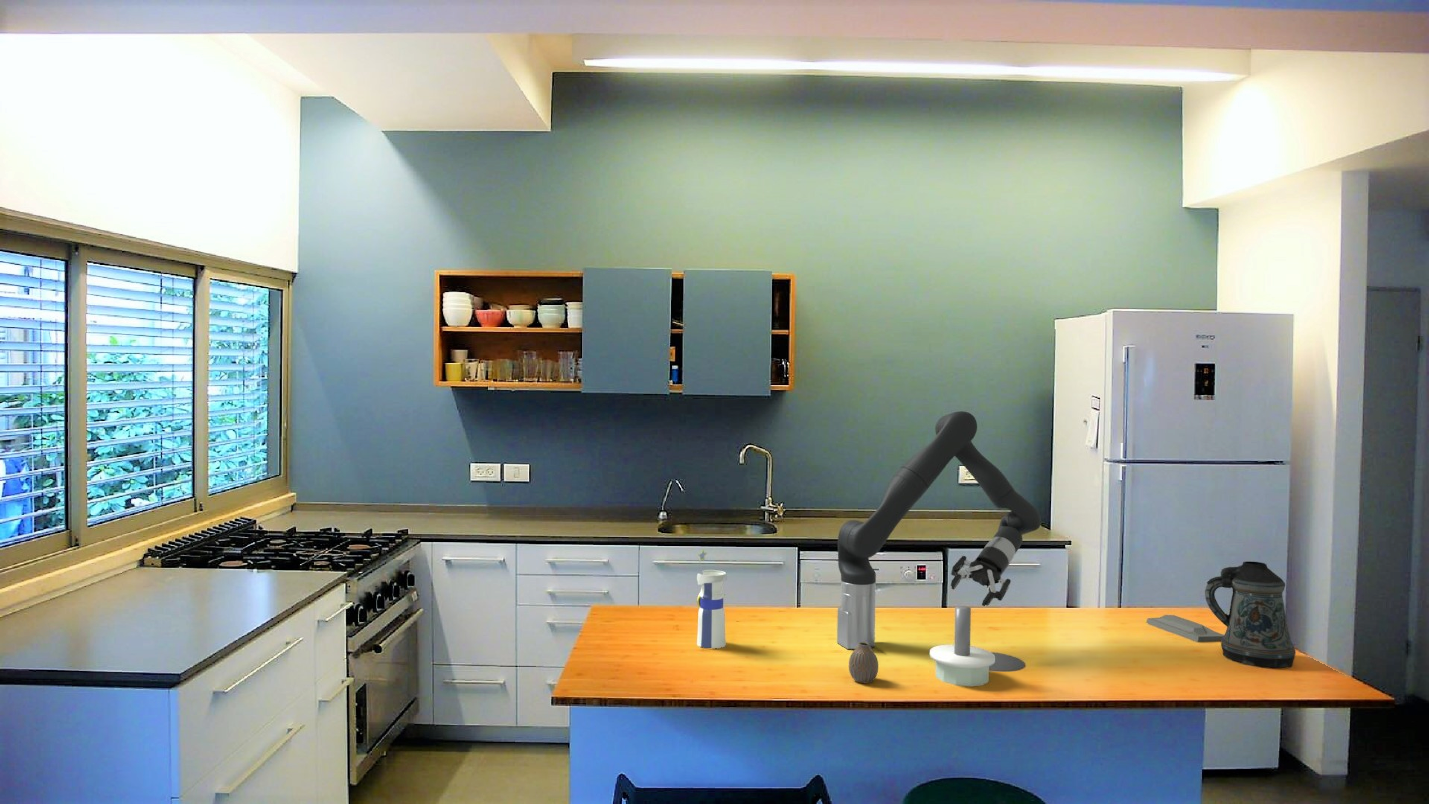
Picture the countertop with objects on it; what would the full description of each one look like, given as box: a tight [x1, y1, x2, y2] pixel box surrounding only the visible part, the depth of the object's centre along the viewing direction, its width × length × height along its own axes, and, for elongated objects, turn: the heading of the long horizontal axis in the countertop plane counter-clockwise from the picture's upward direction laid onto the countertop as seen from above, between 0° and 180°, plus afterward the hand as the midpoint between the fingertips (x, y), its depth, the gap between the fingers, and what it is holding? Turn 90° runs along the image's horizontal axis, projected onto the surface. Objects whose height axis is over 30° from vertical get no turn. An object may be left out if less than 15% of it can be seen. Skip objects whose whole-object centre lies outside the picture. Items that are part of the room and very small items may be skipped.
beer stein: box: [1204, 561, 1297, 670], centre depth 225 cm, size 16×19×25 cm
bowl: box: [935, 661, 990, 687], centre depth 207 cm, size 12×12×5 cm
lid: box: [929, 605, 995, 668], centre depth 207 cm, size 15×15×12 cm
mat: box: [989, 651, 1026, 673], centre depth 219 cm, size 16×16×1 cm
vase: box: [848, 642, 879, 684], centre depth 205 cm, size 7×7×9 cm
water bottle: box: [696, 549, 728, 650], centre depth 231 cm, size 8×8×25 cm
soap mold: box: [1145, 614, 1225, 643], centre depth 251 cm, size 10×20×4 cm, turn 14°
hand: (968, 595), depth 222 cm, fingers open, 8 cm apart
